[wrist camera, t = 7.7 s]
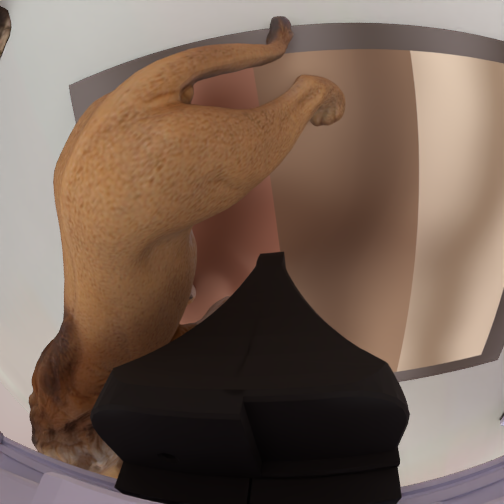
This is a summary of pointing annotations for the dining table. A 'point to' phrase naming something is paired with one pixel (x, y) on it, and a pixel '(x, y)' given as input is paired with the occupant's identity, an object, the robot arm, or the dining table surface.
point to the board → (371, 190)
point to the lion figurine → (151, 220)
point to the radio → (4, 28)
